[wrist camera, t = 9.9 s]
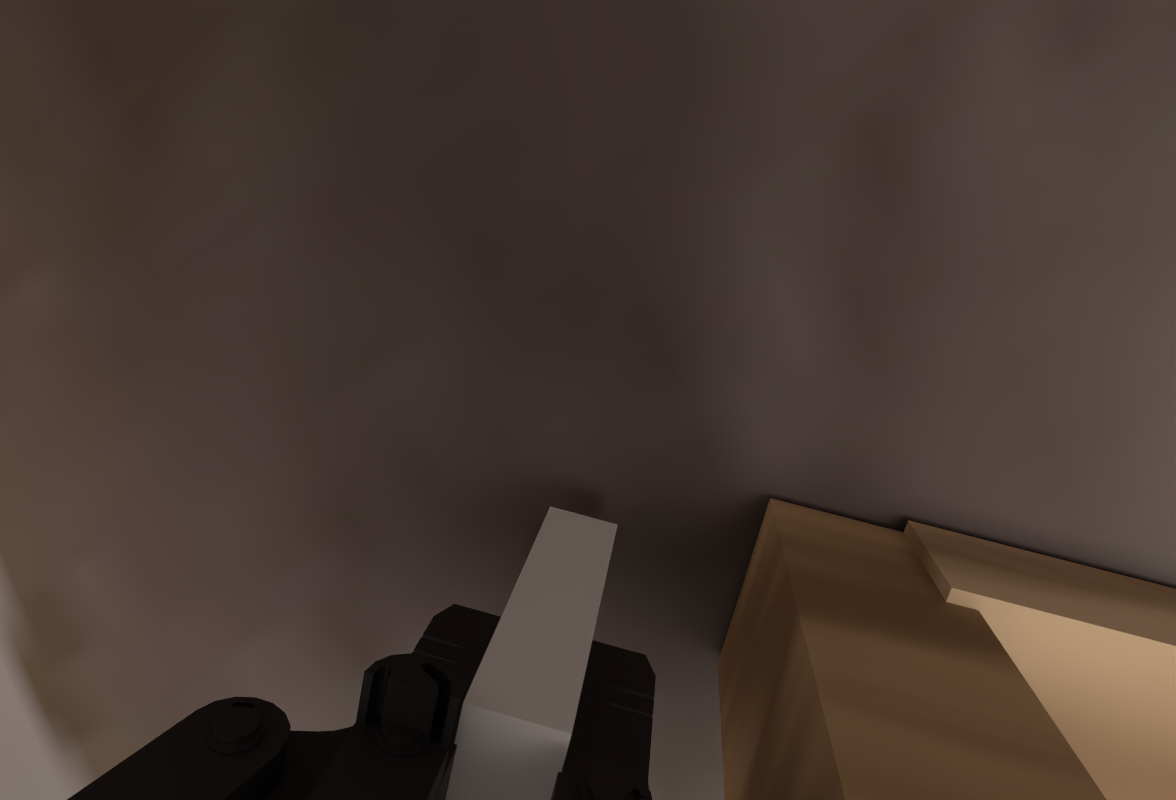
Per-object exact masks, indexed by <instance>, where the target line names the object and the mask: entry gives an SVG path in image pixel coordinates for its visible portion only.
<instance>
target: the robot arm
mask: <svg viewBox="0 0 1176 800" xmlns="http://www.w3.org/2000/svg"><path fill="white" fill-rule="evenodd" d="M617 525H618V524H614V523H610V522H607V521H603V520H599V519H595V518H592V517H588V516H584V515H581V514H577V513H573V512H569V511H566V510H562V509H558V508H555V507H551V506H550V508H549V510H548V512H547V515H546V517H545V519H544V521H543V524H542V526H541V528H540V530H539V533H538V535H537V537H536V539H535V542H534V544H533V546H532V548H531V551H530V553H529V555H528V558H527V560H526V562H525V564H524V567H523V569H522V571H521V573H520V576H519V578H518V580H517V582H516V585H515V587H514V589H513V591H512V594H511V596H510V598H509V600H508V603H507V605H506V607H505V609H504V612H503V614H502V616H501V617H499V616H496V615H492V614H489V613H485V612H482V611H478V610H474V609H471V608H467V607H464V606H460V605H456V604H453V605H452V606H450V607H448V608H447V609H445V610H443V611H442V612H440V613H438V614H437V615H435V616H434V617H433V619H432V620H431V622H430V624H429V625H428V627H427V629H426V630H425V632H424V634H423V637H421V639H420V640H419V642H418V644H417V645H416V647H415V649H414V652H412V654H399V655H391V656H388V657H386V658H383V659H381V660H378V661H376V662H374V663H373V664H372V665H371V666H370V667H369V668H368V669H367V670H366V671H365V672H364V678H363V684H362V690H361V695H360V701H359V707H358V713H357V719H356V723H355V724H354V726H351V727H349V728H344V729H340V730H336V731H320V732H317V731H290V727H291V726H290V723H289V721H288V719H287V716H286V714H285V713H284V712H283V711H282V710H281V709H280V708H278V707H277V706H276V705H275V704H273V703H271V702H268V701H265V700H262V699H258V698H253V697H232V698H228V699H223V700H218V701H214V702H212V703H210V704H208V705H206V706H204V707H202V708H200V709H198V710H196V711H195V712H193V713H192V714H190V715H189V716H187V717H186V718H185V719H183V720H182V721H180V722H179V723H177V724H176V725H174V726H173V727H172V728H170V729H169V730H167V731H166V732H164V733H163V734H161V735H160V736H159V737H157V738H156V739H154V740H153V741H151V742H150V743H148V744H147V745H146V746H144V747H143V748H141V749H140V750H138V751H137V752H135V753H134V754H132V755H131V756H130V757H128V758H127V759H125V760H124V761H122V762H121V763H119V764H118V765H117V766H115V767H114V768H112V769H111V770H109V771H108V772H106V773H105V774H104V775H102V776H101V777H99V778H98V779H96V780H95V781H93V782H92V783H91V784H89V785H88V786H86V787H85V788H83V789H82V790H80V791H79V792H78V793H76V794H75V795H73V796H72V797H70V798H69V799H67V800H652V796H651V792H650V791H649V787H648V773H649V759H650V746H651V732H652V719H653V718H652V715H653V705H654V701H653V699H654V692H655V678H656V676H655V674H654V672H653V670H652V668H651V665H650V663H649V661H648V659H647V657H646V655H643V654H640V653H636V652H633V651H629V650H625V649H622V648H618V647H615V646H611V645H607V644H604V643H600V642H597V641H593V640H592V639H593V635H594V630H595V626H596V621H597V617H598V612H599V608H600V603H601V598H602V594H603V589H604V585H605V580H606V576H607V571H608V566H609V562H610V557H611V553H612V548H613V544H614V539H615V535H616V530H617Z"/></svg>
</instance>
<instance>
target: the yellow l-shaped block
mask: <svg viewBox="0 0 1176 800" xmlns="http://www.w3.org/2000/svg"><path fill="white" fill-rule="evenodd" d="M718 675H719V694H720V713H721V731H722V750H723V769H724V788H725V800H1176V589H1175V588H1171V587H1167V586H1163V585H1159V584H1155V583H1151V582H1147V581H1143V580H1139V579H1136V578H1132V577H1128V576H1124V575H1120V574H1116V573H1112V572H1108V571H1104V570H1100V569H1097V568H1093V567H1089V566H1085V565H1081V564H1077V563H1073V562H1069V561H1065V560H1061V559H1057V558H1054V557H1050V556H1046V555H1042V554H1038V553H1034V552H1030V551H1026V550H1022V549H1018V548H1014V547H1011V546H1007V545H1003V544H999V543H995V542H991V541H987V540H983V539H979V538H975V537H972V536H968V535H964V534H960V533H956V532H952V531H948V530H944V529H940V528H936V527H932V526H929V525H925V524H921V523H917V522H913V521H909V520H908V522H907V525H906V527H905V530H904V532H900V531H896V530H892V529H889V528H885V527H881V526H877V525H873V524H869V523H865V522H861V521H857V520H854V519H850V518H846V517H842V516H838V515H834V514H830V513H826V512H822V511H819V510H815V509H811V508H807V507H803V506H799V505H795V504H791V503H787V502H784V501H780V500H776V499H772V498H770V500H769V503H768V506H767V509H766V513H765V516H764V519H763V522H762V525H761V528H760V531H759V535H758V538H757V541H756V544H755V547H754V550H753V554H752V557H751V560H750V563H749V566H748V569H747V572H746V576H745V579H744V582H743V585H742V588H741V591H740V595H739V598H738V601H737V604H736V607H735V610H734V614H733V617H732V620H731V623H730V626H729V629H728V632H727V636H726V639H725V642H724V645H723V648H722V651H721V655H720V658H719V661H718Z"/></svg>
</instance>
